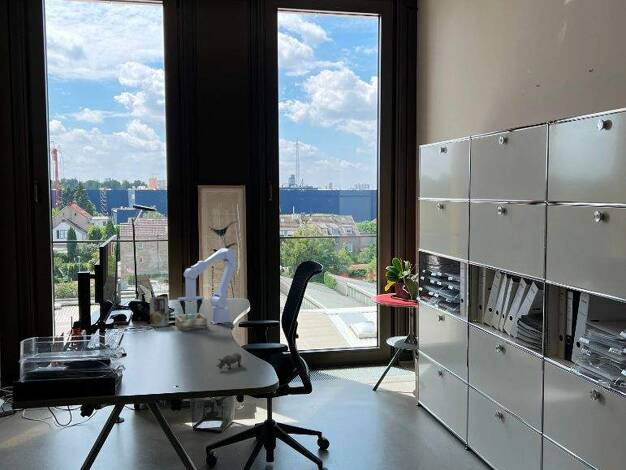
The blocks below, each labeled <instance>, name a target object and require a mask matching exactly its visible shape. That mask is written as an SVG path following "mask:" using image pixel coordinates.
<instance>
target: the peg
mask: <svg viewBox="0 0 626 470" xmlns="http://www.w3.org/2000/svg"><path fill="white" fill-rule="evenodd" d="M194 314H195V313H188V314H187V315H188V320H191V319H194Z"/></svg>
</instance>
